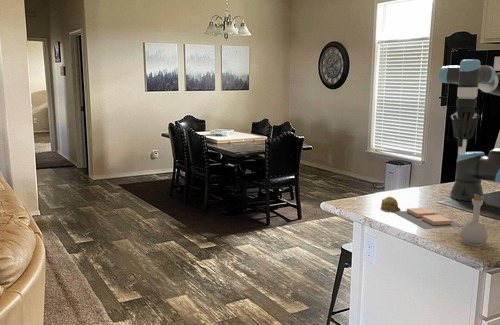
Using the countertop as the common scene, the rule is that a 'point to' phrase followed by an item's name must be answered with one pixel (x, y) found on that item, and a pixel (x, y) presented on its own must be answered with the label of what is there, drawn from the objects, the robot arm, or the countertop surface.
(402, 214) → the mat
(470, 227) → the potion bottle
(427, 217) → the tile
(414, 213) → the tile
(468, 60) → the robot arm
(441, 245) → the countertop surface
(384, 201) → the seashell
